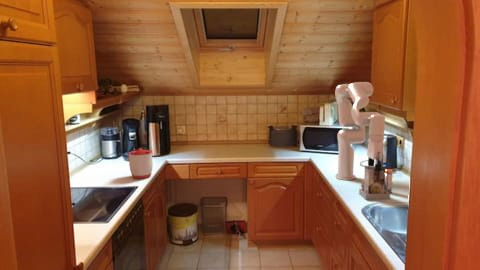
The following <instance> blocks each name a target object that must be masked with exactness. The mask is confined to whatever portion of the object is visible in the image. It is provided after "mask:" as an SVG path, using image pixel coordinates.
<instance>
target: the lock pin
mask: <svg viewBox="0 0 480 270" xmlns="http://www.w3.org/2000/svg"><path fill="white" fill-rule="evenodd" d="M384 190H385V191H387V192H388V193H390V194H392V190H393V169H390V168H389V169H388V168H385V186H384Z"/></svg>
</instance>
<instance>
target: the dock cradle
mask: <svg viewBox="0 0 480 270" xmlns="http://www.w3.org/2000/svg"><path fill="white" fill-rule="evenodd" d="M358 194H359V196H361V197H362V198H363V199H364V200H366V201H370V200H371V201H375V200H381V201H382V200H390V199H391V193H388V192H387V191H385V190H384V194H366V193H365V192H364V189H363V188H359V191H358Z"/></svg>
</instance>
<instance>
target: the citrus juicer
mask: <svg viewBox="0 0 480 270" xmlns="http://www.w3.org/2000/svg"><path fill="white" fill-rule="evenodd" d="M127 154H128V155H127V156H128V157H127V158H126V159H125V161H128V164H129V165H128V166H129V170H130V173H131V176H132V178H133V179H135V178H136V179H147V178H150V177H151V175H152V173H153V172H152V171H153V151H152V150H149V149H143V148H141V147H139V148H138V149H137V150H132V151H130V153H127Z"/></svg>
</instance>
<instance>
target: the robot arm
mask: <svg viewBox="0 0 480 270" xmlns="http://www.w3.org/2000/svg"><path fill="white" fill-rule="evenodd" d="M373 93H374V86H373V85H372V83H370V82H369V81H357V82H352V83H343V84H338V85H337V86H336V87H335V92H334V96H335V97H334V98H335V101H336V103H337V110H338V124H339V126H340V127H343V129H340V130H339V131H338V133H337V134H336V135H337V137H336V138H337V145H338V152H337V153H338V160H337V162H338V163H337V174H335V178H336V179H339V180H344V181H351V180H355V179H356V178H357V177H356V175H355V174H354V161H355V150H354V148H353V147H352V146H351V145H357V144H363V143H365V142H366V139H367V138H366V134H367V133H366V127H369V131H368V132H369V133H368V144H367V149H366V150H367V151H366V152H367V153H366V156H367V161H368V162H367V165H368V166H375V171H381V166H382V165H383V160H384V157H383V155H384V154H383V152H384V149H383V148H384V146H383V145H384V143H383V142H384V141H385V140H384V138H385V125H386V117H385V115H384V114H381V113H379V112H377V111H368V112H367V111H366V112H365V111H364V112H360V110H361V109H363V108H365V107H367V106H368V104H369V102H370V98H369V97H371V96H373ZM348 98H349V99H348ZM350 98H351V100H352V102H353V105H352V102H351V101H350ZM349 127H350V128H349ZM345 128H346V129H345Z"/></svg>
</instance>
